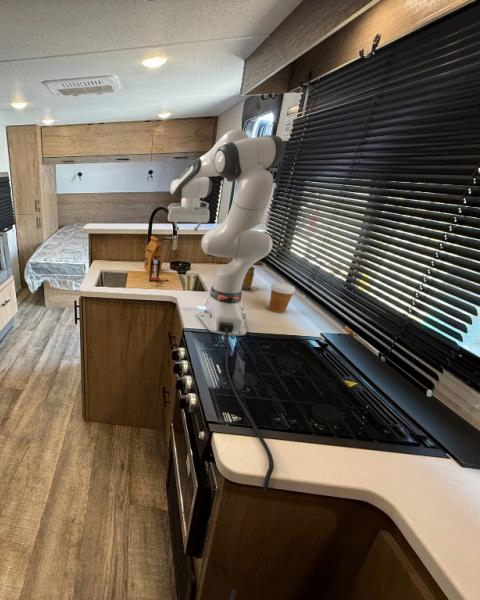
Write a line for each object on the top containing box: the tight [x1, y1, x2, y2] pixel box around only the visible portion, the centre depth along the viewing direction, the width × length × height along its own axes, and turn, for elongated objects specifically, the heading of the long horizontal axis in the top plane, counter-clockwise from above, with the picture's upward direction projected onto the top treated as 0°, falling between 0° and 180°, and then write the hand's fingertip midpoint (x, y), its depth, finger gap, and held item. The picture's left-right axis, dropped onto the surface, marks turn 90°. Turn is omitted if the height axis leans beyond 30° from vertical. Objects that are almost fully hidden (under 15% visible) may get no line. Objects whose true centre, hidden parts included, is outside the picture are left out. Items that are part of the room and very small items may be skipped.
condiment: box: [241, 266, 257, 292], centre depth 167 cm, size 7×8×12 cm
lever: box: [150, 260, 161, 281], centre depth 170 cm, size 13×5×2 cm
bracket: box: [148, 259, 161, 283], centre depth 175 cm, size 11×9×14 cm
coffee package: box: [144, 235, 163, 274], centre depth 191 cm, size 10×12×22 cm
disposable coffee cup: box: [268, 282, 296, 314], centre depth 141 cm, size 10×10×12 cm
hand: (186, 230), depth 160 cm, fingers open, 8 cm apart
